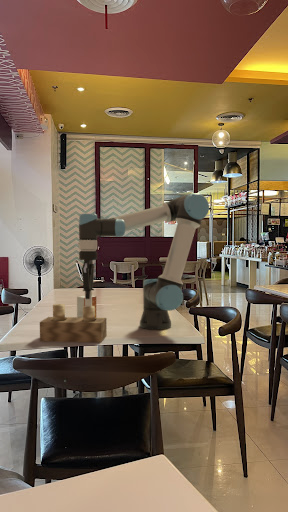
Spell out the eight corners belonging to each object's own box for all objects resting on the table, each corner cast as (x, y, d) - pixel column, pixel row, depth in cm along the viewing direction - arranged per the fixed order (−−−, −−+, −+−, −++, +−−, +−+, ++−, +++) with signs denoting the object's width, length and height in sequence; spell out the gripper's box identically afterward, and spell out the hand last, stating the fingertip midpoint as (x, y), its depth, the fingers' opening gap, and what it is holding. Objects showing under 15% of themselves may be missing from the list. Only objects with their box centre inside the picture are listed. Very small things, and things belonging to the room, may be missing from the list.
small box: (84, 323, 203) (83, 297, 202) (76, 321, 207) (76, 296, 207) (96, 321, 208) (96, 296, 208) (89, 319, 213) (89, 294, 212)
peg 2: (95, 324, 173) (95, 305, 173) (93, 326, 168) (93, 307, 168) (84, 324, 174) (84, 305, 174) (81, 326, 169) (81, 307, 169)
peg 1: (66, 322, 175) (66, 304, 174) (63, 324, 170) (62, 306, 169) (55, 322, 175) (54, 304, 175) (51, 324, 170) (51, 305, 170)
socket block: (106, 336, 176) (106, 317, 176) (101, 342, 165) (101, 323, 165) (48, 334, 179) (48, 316, 178) (39, 341, 168) (39, 322, 168)
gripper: (83, 250, 177) (83, 303, 178) (75, 250, 164) (75, 308, 165) (100, 250, 176) (100, 303, 177) (93, 250, 163) (93, 309, 164)
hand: (88, 306), depth 171 cm, fingers closed
